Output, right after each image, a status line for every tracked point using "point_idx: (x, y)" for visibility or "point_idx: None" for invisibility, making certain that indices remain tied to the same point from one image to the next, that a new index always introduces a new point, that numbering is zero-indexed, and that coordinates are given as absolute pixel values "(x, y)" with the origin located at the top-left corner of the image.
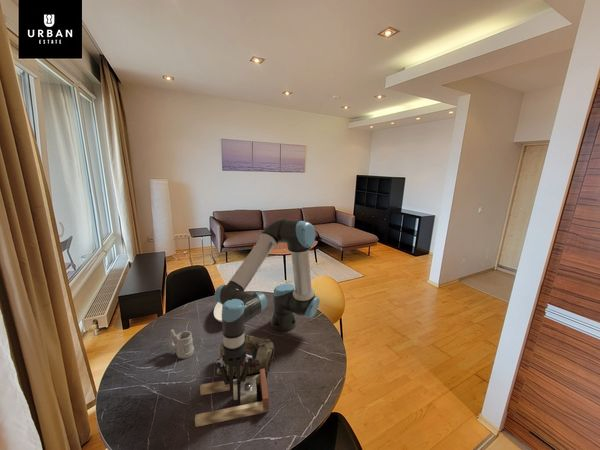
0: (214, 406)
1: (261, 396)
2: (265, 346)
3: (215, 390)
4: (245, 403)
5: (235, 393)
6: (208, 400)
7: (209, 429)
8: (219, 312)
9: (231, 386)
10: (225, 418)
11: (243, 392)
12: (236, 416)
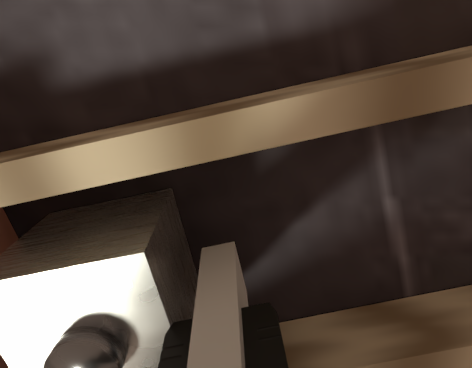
0: (374, 206)
1: None
2: None
3: (392, 315)
4: (121, 214)
5: (216, 287)
6: (424, 248)
7: (384, 15)
8: None
9: (268, 361)
10: (270, 94)
11: (122, 297)
12: (179, 113)
